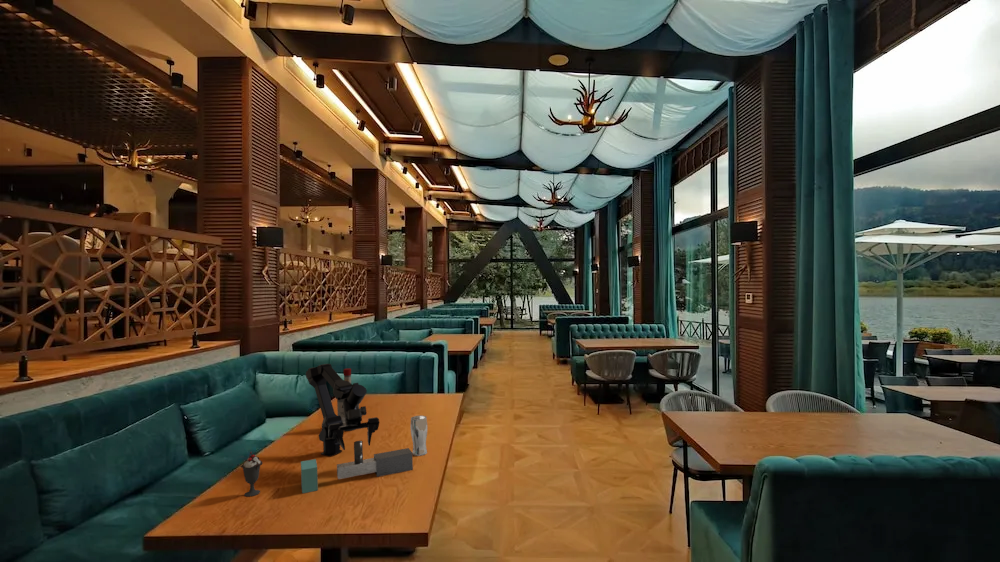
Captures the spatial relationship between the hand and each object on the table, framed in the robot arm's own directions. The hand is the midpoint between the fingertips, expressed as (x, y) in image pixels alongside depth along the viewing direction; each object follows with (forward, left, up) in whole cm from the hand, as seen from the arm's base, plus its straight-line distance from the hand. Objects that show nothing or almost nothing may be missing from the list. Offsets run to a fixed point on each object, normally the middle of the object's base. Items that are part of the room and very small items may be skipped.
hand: (357, 447), depth 174 cm
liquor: (-47, +43, -10) cm, 64 cm away
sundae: (-22, -27, -10) cm, 37 cm away
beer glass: (+9, +27, -10) cm, 30 cm away
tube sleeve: (+11, +8, -10) cm, 17 cm away
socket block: (-8, -16, -10) cm, 20 cm away
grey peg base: (+6, +2, -9) cm, 11 cm away
